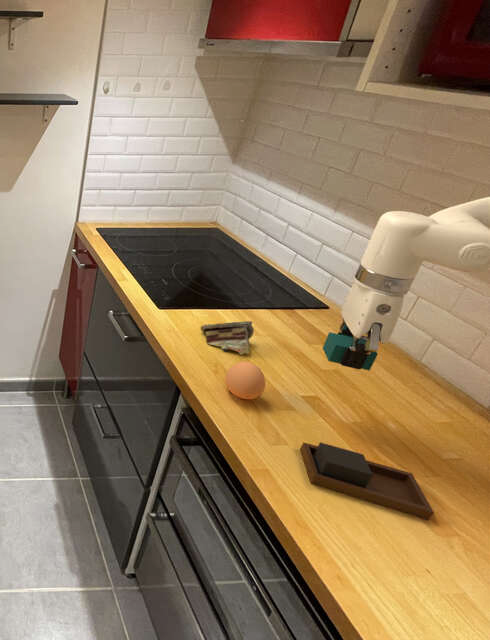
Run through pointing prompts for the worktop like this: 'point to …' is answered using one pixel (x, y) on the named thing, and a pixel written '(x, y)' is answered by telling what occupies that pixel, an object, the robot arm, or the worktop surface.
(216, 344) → the chocolate cake
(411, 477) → the backing tray
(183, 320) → the worktop surface
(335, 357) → the teal block
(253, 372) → the egg
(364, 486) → the black rectangular block
